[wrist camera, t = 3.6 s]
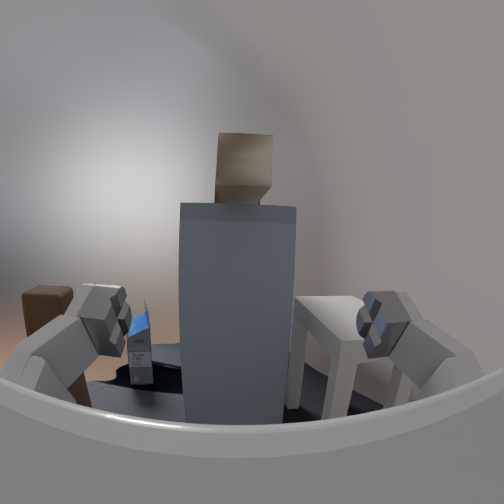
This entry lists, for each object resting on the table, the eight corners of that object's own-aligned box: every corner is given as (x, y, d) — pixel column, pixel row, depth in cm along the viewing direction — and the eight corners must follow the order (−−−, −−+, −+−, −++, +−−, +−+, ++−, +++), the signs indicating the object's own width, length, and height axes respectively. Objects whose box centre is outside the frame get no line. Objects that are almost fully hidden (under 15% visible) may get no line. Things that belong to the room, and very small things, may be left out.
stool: (312, 481, 20) (341, 341, 19) (285, 403, 36) (294, 296, 35) (383, 465, 20) (424, 331, 20) (337, 398, 36) (352, 295, 36)
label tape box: (129, 362, 45) (123, 298, 44) (150, 361, 47) (145, 297, 46) (131, 385, 37) (122, 311, 36) (155, 384, 39) (149, 311, 38)
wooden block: (91, 479, 16) (41, 307, 15) (52, 472, 15) (-4, 303, 14) (99, 429, 25) (73, 286, 24) (67, 425, 23) (37, 284, 22)
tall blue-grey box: (189, 448, 25) (180, 202, 23) (200, 383, 41) (200, 215, 39) (278, 448, 26) (296, 206, 24) (263, 384, 42) (270, 217, 40)
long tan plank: (197, 184, 15) (202, 116, 14) (216, 213, 36) (217, 183, 35) (289, 187, 15) (290, 121, 15) (255, 215, 36) (256, 184, 36)
